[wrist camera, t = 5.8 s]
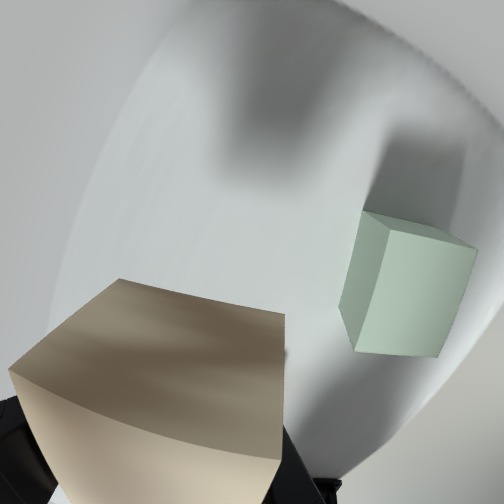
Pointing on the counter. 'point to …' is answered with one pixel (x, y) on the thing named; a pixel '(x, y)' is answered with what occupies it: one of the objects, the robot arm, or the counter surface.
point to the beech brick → (158, 399)
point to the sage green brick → (403, 286)
